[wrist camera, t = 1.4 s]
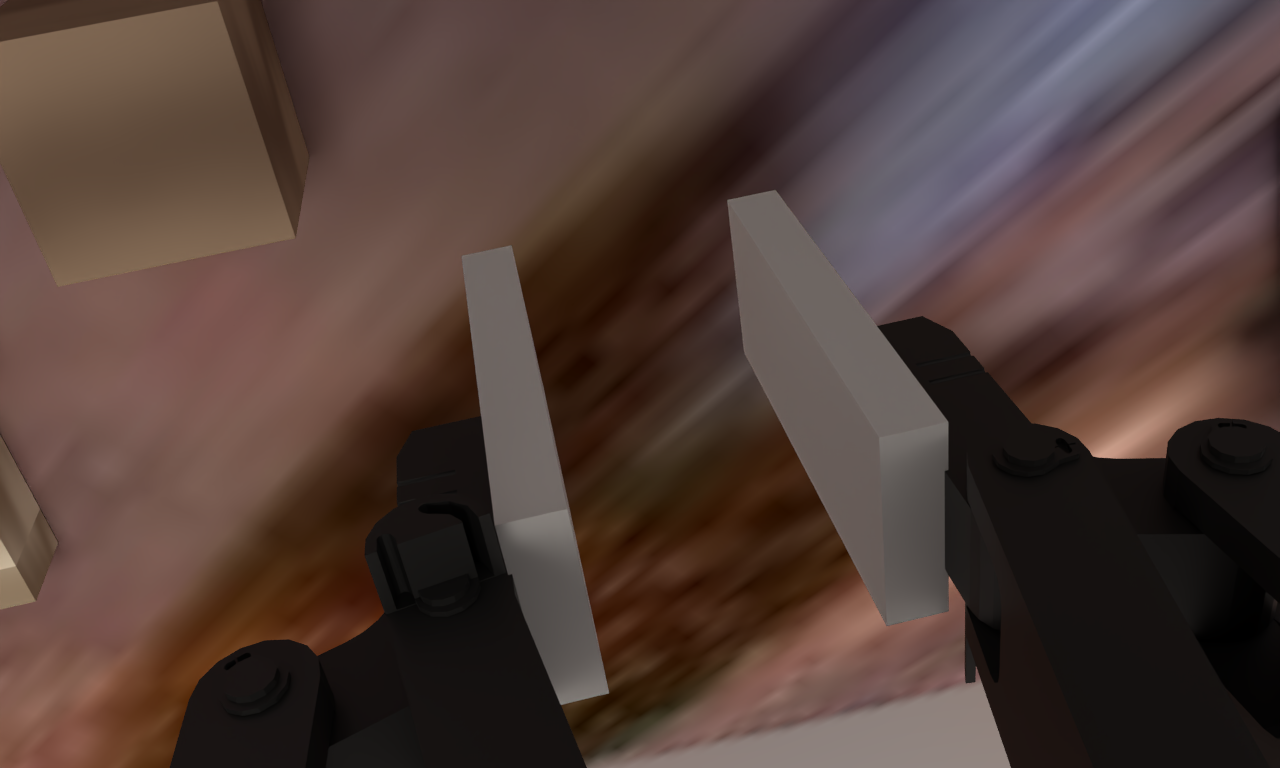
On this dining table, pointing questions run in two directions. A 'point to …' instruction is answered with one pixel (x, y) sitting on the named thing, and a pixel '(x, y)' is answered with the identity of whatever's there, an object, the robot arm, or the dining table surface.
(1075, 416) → the dining table surface
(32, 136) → the block
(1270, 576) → the robot arm
